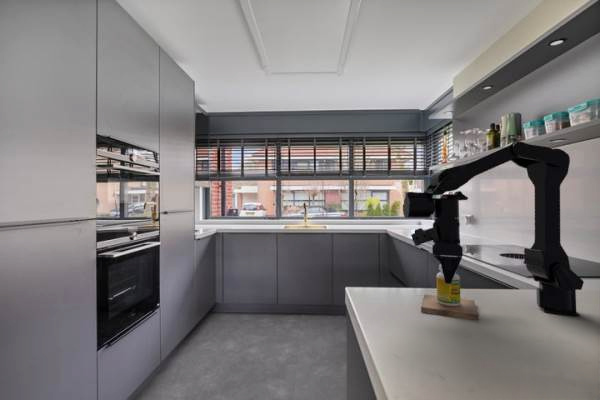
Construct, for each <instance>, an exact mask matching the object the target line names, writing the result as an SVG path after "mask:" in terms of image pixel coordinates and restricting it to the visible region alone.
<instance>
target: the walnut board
mask: <svg viewBox="0 0 600 400" xmlns="http://www.w3.org/2000/svg"><path fill="white" fill-rule="evenodd" d="M420 312H421V313H425V312H429V313H428V314H432V313H435V314H434V315H439V314H440V316H448V317H455V318H461V319H462V318H463V319H467V320H475V321H479V312H478V309H477V306H476V302H475V300H474V299H468V298H460V305H459V306H446V305H442V304H440V303H438V301H437V295H433V294H424V295H423V298H422V300H421V305H420Z"/></svg>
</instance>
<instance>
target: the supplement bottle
mask: <svg viewBox="0 0 600 400" xmlns="http://www.w3.org/2000/svg"><path fill="white" fill-rule="evenodd" d="M438 270H439V272H437V274H436V277H435V278H436V296H437V301H438V303H440V304H442V305H446V306H459V305H460V299H461V277H460V275H459V274H458V273H456V272H457V270H458V269H457V270H456V272H455V275H454V277H453V279H452V282H451V284H446V283H445V279H444V275H443V271H442V267H441V263H440V264H438Z"/></svg>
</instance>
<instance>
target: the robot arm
mask: <svg viewBox="0 0 600 400" xmlns="http://www.w3.org/2000/svg"><path fill="white" fill-rule="evenodd" d="M510 161H511V162H512V163H513V164H515V165H517V166H518V167H520V168H523V169H526V173H527V177H528V179H529V180H530V182H531V183H532V185H533V187H534V241H533V244H532V246H531V247H530V248H527V247H525V248H524V250H523V253H524V261H523V264H525V266H526V270H527V271H528V272H529V273H530V274H531V276H532V278H533V281H535V282H537V283H538V287H537V288H536V305H537V306H539V308H540V309H541V310H542V311H543V313H544V312H546V313H551V314H559V315H567V316H573V317H574V316H575V317H579V316H580V315H581V314H580V312H578V311H577V297H576V296H577V294H576V293H577V292H576V291H582V288H583V285H584V284H585V283H584V282H585V281H584V279H582V278H581V277H580V276H578V275H577V274H576V272H574V271H573V270H572V269H571V265H570V259H569V256H568V254H567V252H566V251H565V249H564V247H563V246H562V243H561V185H562V183H563V182H564V181H565V179H566V178H567V176H568V174H569V169H570V163H571V162H570V161H571V159H570V155H569V153H567V152H566V151H564V150H563V149H561V148H552V147H548V146H543V145H536V144H530V143H527V142H523V141H514V142H511V143H508V144H506V145H504V146H502V147H501V148H499V149H497V150H494V151H492V152H490V153H487V154H486V155H482V156H481V157H478V158H477V159H473V160H471V161H469V162H468V163H465V164H460V165H455V166H451V167H449V168H448V167H447V168H445V169H442V170H440V171H439V170H438V171H436V172H435V173H433V174H432V175H431V178H430V184H428V186H427V188H426V189H425V190H424V192H415V191H406V192H405V194H404V195H405V197H404V200H403V204H402V212H403V217H404V218H405V219H429V218H430V217H431V216H432V215H434V216H433V219H434V221H433V223H432V227H430V228H426V229H423V228H421V227H420V228H417V229H414V233H411V235H410V237H411V240H412V241H413V244H414V246H415V247H418V246H420V245H422V244H425V243H426V244H427V242H431V241H432V243H434V244H432V247H431V248H432V249H431V250H432V251H431V252H432V255H433V257H434V258H435V259H436V260H437V261H438V262H439V263H440V264H441V267H442V271H443V275H444V279H445V283H446V284H451V282H452V279H453V277H454V275H455V272H457V271H456V270H458V268H459V265H460V263H461V261H462V259H463V257H464V253H463V251H464V249H463V246H462V245H461V237H460V236H461V235H460V227H461V226H460V225H461V224H460V223H461V222H460V203H459V201H468V199H469V197H468V196H466V195H465V194H463V192H462V191H460V190H459V188H462V187H463V186H464V185H466V184H467V183H468V182H470V181H471V180H472V179H474V178H475V177H476V176H478V175H481V174H483V173H485V172H487V171H489V170H492V169H494V168H496V167H499V166H501V165H503V164H505V163H508V162H510ZM457 190H458V191H457ZM453 191H455V192H454V193H448V192H453ZM436 196H440V197H436Z"/></svg>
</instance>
